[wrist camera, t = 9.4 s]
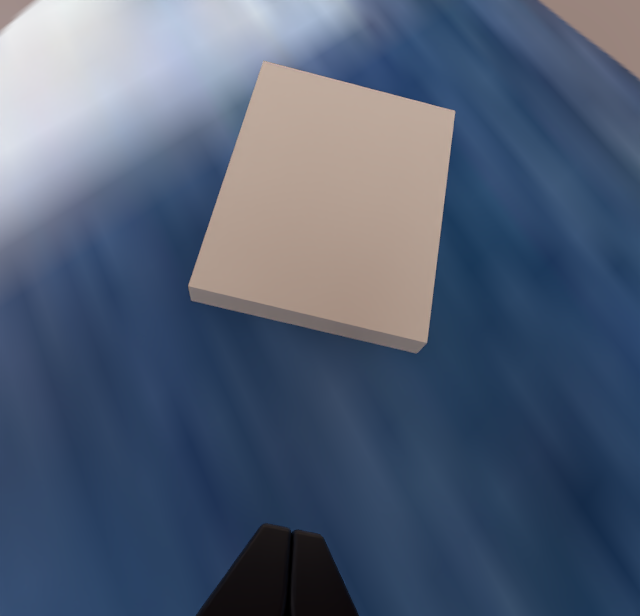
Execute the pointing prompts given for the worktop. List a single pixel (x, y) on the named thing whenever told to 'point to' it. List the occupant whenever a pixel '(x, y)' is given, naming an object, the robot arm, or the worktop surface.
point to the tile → (330, 210)
